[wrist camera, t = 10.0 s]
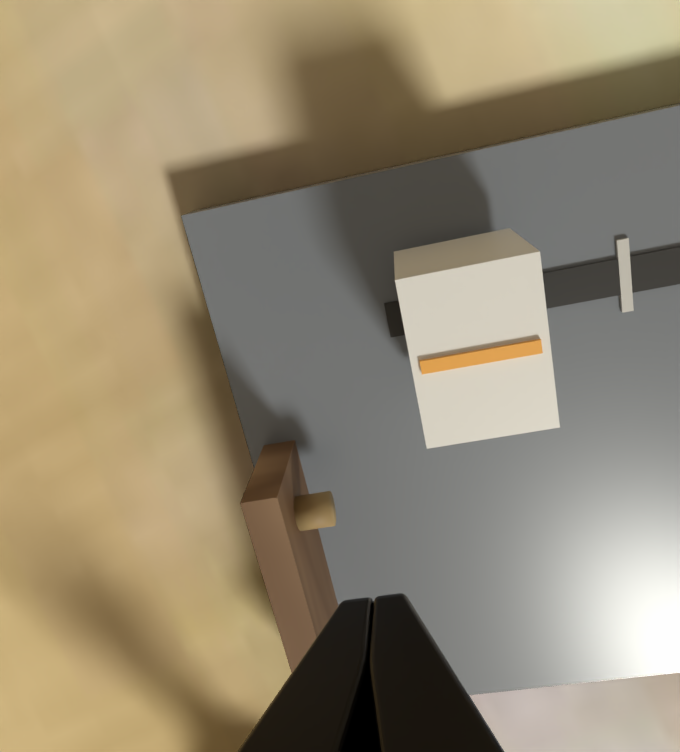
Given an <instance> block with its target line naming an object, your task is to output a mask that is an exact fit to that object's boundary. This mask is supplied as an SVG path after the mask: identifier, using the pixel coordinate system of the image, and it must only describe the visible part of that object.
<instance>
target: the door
mask: <svg viewBox="0 0 680 752" xmlns="http://www.w3.org/2000/svg"><path fill="white" fill-rule="evenodd" d="M240 504H241V507H242V510H243V514H244V517H245V520H246V524H247V527H248V530H249V534H250V537H251V540H252V543H253V547H254V550H255V553H256V557H257V560H258V563H259V567H260V570H261V573H262V576H263V580H264V583H265V586H266V590H267V593H268V596H269V600H270V603H271V606H272V609H273V613H274V616H275V619H276V623H277V626H278V629H279V633H280V636H281V639H282V642H283V646H284V649H285V652H286V656H287V659H288V662H289V666H290V669H291V672H293V671H294V669H295V668H296V666H297V665H298V664H299V662H300V661H301V659H302V658H303V656H304V655H305V653H306V652H307V651H308V649H309V648H310V646H311V645H312V643H313V642H314V640H315V639H316V637H317V636H318V635H319V633H320V632H321V630H322V629H323V627H324V626H325V624H326V623H327V622H328V620H329V619H330V617H331V616H332V614H333V613H334V611H335V610H336V609H337V607H338V603H337V599H336V595H335V591H334V588H333V584H332V580H331V576H330V572H329V568H328V565H327V561H326V557H325V553H324V549H323V546H322V542H321V538H320V534H319V530H318V528H325V527H332V526H335V525H336V510H335V503H334V499H333V495H332V493H331V491H326V492H319V493H313V494H309V492H308V488H307V484H306V481H305V477H304V473H303V469H302V465H301V462H300V458H299V454H298V450H297V446H296V442H295V440H292V441H286V442H280V443H274V444H268V445H264V446H263V448H262V451H261V453H260V456H259V458H258V461H257V463H256V466H255V468H254V470H253V473H252V475H251V478H250V480H249V483H248V485H247V488H246V490H245V493H244V495H243V498H242V500H241V503H240Z"/></svg>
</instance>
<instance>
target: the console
mask: <svg viewBox="0 0 680 752" xmlns="http://www.w3.org/2000/svg"><path fill="white" fill-rule="evenodd" d="M181 217H182V220H183V224H184V227H185V231H186V234H187V238H188V241H189V245H190V248H191V252H192V255H193V258H194V262H195V265H196V269H197V272H198V276H199V279H200V283H201V286H202V290H203V293H204V296H205V300H206V303H207V307H208V310H209V314H210V317H211V321H212V324H213V328H214V331H215V335H216V338H217V341H218V345H219V348H220V352H221V355H222V359H223V362H224V366H225V369H226V373H227V376H228V379H229V383H230V386H231V390H232V393H233V397H234V400H235V404H236V407H237V411H238V414H239V418H240V421H241V424H242V428H243V431H244V435H245V438H246V442H247V445H248V449H249V452H250V456H251V459H252V462H253V466H254V468H255V466H256V463H257V461H258V458H259V456H260V453H261V451H262V448H263V446H264V445H268V444H274V443H280V442H286V441H292V440H295V442H296V446H297V450H298V454H299V458H300V462H301V465H302V469H303V473H304V477H305V481H306V484H307V488H308V492H309V494H313V493H319V492H326V491H331V493H332V495H333V499H334V503H335V510H336V525H335V526H332V527H325V528H318V530H319V534H320V538H321V542H322V546H323V549H324V553H325V557H326V561H327V565H328V568H329V572H330V576H331V580H332V584H333V588H334V591H335V595H336V599H337V603H338V606H339V604H340V603H341V602H342V601H344V600H348V599H357V598H365V597H370V598H372V600H373V601H374V600H375V598H376V597H377V596H381V595H389V594H397V593H403V594H405V595H406V596H407V597H408V599H409V600H410V602H411V603H412V605H413V607H414V608H415V610H416V611H417V613H418V615H419V616H420V618H421V619H422V621H423V623H424V624H425V626H426V627H427V629H428V631H429V632H430V634H431V635H432V637H433V639H434V640H435V642H436V643H437V645H438V647H439V648H440V650H441V651H442V653H443V654H444V656H445V658H446V659H447V661H448V662H449V664H450V666H451V667H452V669H453V670H454V672H455V674H456V675H457V677H458V678H459V680H460V682H461V683H462V685H463V686H464V688H465V690H466V691H467V693H468V694H469V695H475V694H484V693H493V692H503V691H512V690H521V689H531V688H540V687H549V686H559V685H568V684H577V683H587V682H596V681H605V680H615V679H624V678H633V677H643V676H652V675H661V674H671V673H680V103H678V104H674V105H669V106H665V107H660V108H656V109H651V110H647V111H642V112H638V113H633V114H629V115H624V116H620V117H615V118H611V119H606V120H602V121H597V122H593V123H588V124H584V125H579V126H575V127H570V128H566V129H561V130H557V131H552V132H548V133H543V134H539V135H534V136H530V137H525V138H521V139H516V140H512V141H507V142H503V143H498V144H494V145H489V146H485V147H480V148H476V149H471V150H466V151H462V152H457V153H453V154H448V155H444V156H439V157H435V158H430V159H426V160H421V161H417V162H412V163H408V164H403V165H399V166H394V167H390V168H385V169H381V170H376V171H372V172H367V173H363V174H358V175H354V176H349V177H345V178H340V179H336V180H331V181H327V182H322V183H318V184H313V185H309V186H304V187H300V188H295V189H291V190H286V191H282V192H277V193H273V194H268V195H264V196H259V197H255V198H250V199H246V200H241V201H237V202H232V203H228V204H223V205H219V206H214V207H209V208H205V209H200V210H196V211H192V212H190V213H187V214H184V215H182V216H181ZM507 228H510V229H511V230H513V231H514V232H515V233H517V234H518V235H519V236H520V237H522V238H523V239H524V240H526V241H527V242H528V243H530V244H531V245H532V246H534V247H535V248H536V249H537V250H539V251H540V256H541V264H542V273H543V282H544V291H545V300H546V308H547V317H548V326H549V335H550V344H551V353H552V361H553V370H554V379H555V388H556V397H557V406H558V414H559V423H560V428H554V429H547V430H541V431H535V432H529V433H522V434H516V435H510V436H504V437H497V438H491V439H485V440H479V441H472V442H466V443H460V444H454V445H447V446H441V447H435V448H429V449H427V447H426V442H425V437H424V432H423V426H422V421H421V416H420V410H419V405H418V400H417V395H416V389H415V384H414V379H413V373H412V368H411V363H410V358H409V352H408V347H407V342H406V336H405V331H404V326H403V321H402V315H401V310H400V305H399V300H398V294H397V289H396V284H395V272H394V251H399V250H404V249H409V248H414V247H419V246H424V245H429V244H434V243H439V242H444V241H448V240H453V239H458V238H463V237H468V236H473V235H478V234H483V233H488V232H493V231H498V230H503V229H507Z"/></svg>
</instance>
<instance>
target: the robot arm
mask: <svg viewBox="0 0 680 752" xmlns="http://www.w3.org/2000/svg"><path fill="white" fill-rule="evenodd" d="M238 752H504V750H503V749H502V747H501V746H500V744H499V742H498V741H497V739H496V738H495V736H494V734H493V733H492V731H491V730H490V728H489V726H488V725H487V723H486V722H485V720H484V718H483V717H482V715H481V714H480V712H479V710H478V709H477V707H476V706H475V704H474V702H473V701H472V699H471V698H470V696H469V694H468V693H467V691H466V690H465V688H464V686H463V685H462V683H461V682H460V680H459V678H458V677H457V675H456V674H455V672H454V670H453V669H452V667H451V666H450V664H449V662H448V661H447V659H446V658H445V656H444V654H443V653H442V651H441V650H440V648H439V647H438V645H437V643H436V642H435V640H434V639H433V637H432V635H431V634H430V632H429V631H428V629H427V627H426V626H425V624H424V623H423V621H422V619H421V618H420V616H419V615H418V613H417V611H416V610H415V608H414V607H413V605H412V603H411V602H410V600H409V599H408V597H407V596H406V595H405V594H403V593H397V594H389V595H381V596H377V597H376V598H375V600H374V601H373V600H372V598H370V597H365V598H357V599H348V600H344V601H342V602H341V603H340V604H339V606H338V607H337V609H336V610H335V611H334V613H333V614H332V616H331V617H330V619H329V620H328V622H327V623H326V624H325V626H324V627H323V629H322V630H321V632H320V633H319V635H318V636H317V637H316V639H315V640H314V642H313V643H312V645H311V646H310V648H309V649H308V651H307V652H306V653H305V655H304V656H303V658H302V659H301V661H300V662H299V664H298V665H297V666H296V668H295V669H294V671H293V672H292V674H291V675H290V677H289V678H288V679H287V681H286V682H285V684H284V685H283V687H282V688H281V690H280V691H279V693H278V694H277V695H276V697H275V698H274V700H273V701H272V703H271V704H270V706H269V707H268V708H267V710H266V711H265V713H264V714H263V716H262V717H261V719H260V720H259V721H258V723H257V724H256V726H255V727H254V729H253V730H252V732H251V733H250V735H249V736H248V737H247V739H246V740H245V742H244V743H243V745H242V746H241V748H240V749H239V750H238Z"/></svg>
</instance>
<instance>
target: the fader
mask: <svg viewBox="0 0 680 752" xmlns="http://www.w3.org/2000/svg"><path fill="white" fill-rule="evenodd" d="M394 272H395V284H396V289H397V294H398V300H399V305H400V310H401V315H402V321H403V326H404V331H405V336H406V342H407V347H408V352H409V358H410V363H411V368H412V373H413V379H414V384H415V389H416V395H417V400H418V405H419V410H420V416H421V421H422V426H423V432H424V437H425V442H426V447H427V449H429V448H435V447H441V446H447V445H454V444H460V443H466V442H472V441H479V440H485V439H491V438H497V437H504V436H510V435H516V434H522V433H529V432H535V431H541V430H547V429H554V428H560V423H559V414H558V406H557V397H556V388H555V379H554V370H553V361H552V353H551V344H550V335H549V326H548V317H547V308H546V300H545V291H544V282H543V273H542V264H541V256H540V251H539V250H537V249H536V248H535V247H534V246H532V245H531V244H530V243H528V242H527V241H526V240H524V239H523V238H522V237H520V236H519V235H518V234H517V233H515V232H514V231H513V230H511V229H510V228H507V229H503V230H498V231H493V232H488V233H483V234H478V235H473V236H468V237H463V238H458V239H453V240H448V241H444V242H439V243H434V244H429V245H424V246H419V247H414V248H409V249H404V250H399V251H394Z"/></svg>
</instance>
